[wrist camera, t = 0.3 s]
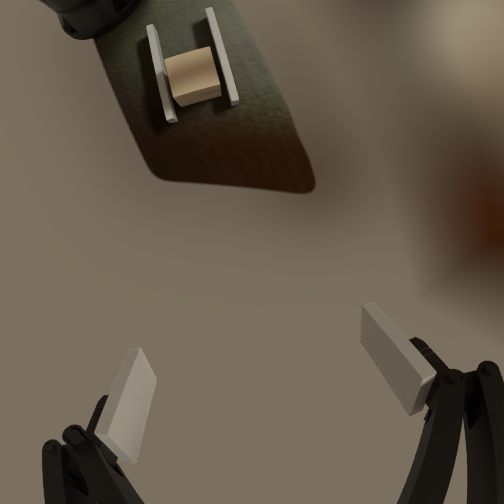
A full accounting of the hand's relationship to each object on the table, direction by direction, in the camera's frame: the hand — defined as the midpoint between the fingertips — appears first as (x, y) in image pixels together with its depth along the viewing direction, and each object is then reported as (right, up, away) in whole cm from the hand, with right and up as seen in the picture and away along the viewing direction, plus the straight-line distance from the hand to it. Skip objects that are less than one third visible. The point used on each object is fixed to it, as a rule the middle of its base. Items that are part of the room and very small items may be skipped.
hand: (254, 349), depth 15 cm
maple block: (-8, +30, +19) cm, 36 cm away
